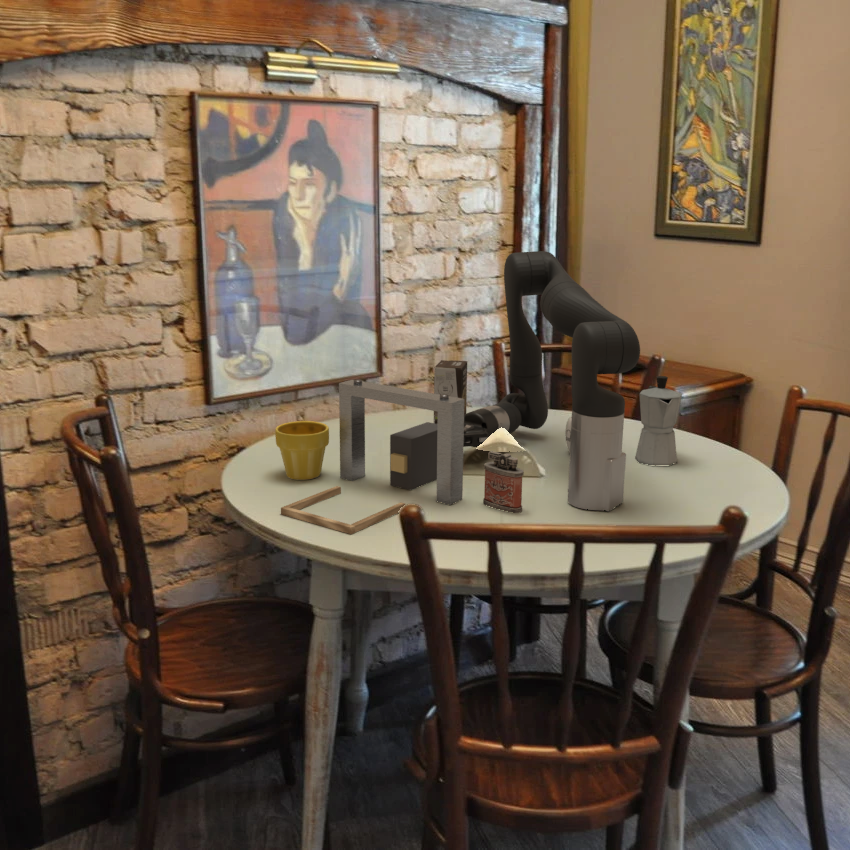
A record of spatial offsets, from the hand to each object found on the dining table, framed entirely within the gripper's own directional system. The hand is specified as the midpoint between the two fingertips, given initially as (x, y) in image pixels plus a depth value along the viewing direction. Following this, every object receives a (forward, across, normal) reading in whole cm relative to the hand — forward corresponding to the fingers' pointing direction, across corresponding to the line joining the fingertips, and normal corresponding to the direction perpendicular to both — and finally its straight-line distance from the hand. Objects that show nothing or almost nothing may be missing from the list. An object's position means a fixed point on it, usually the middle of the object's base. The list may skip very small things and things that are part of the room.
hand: (437, 443), depth 194 cm
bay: (+28, 0, +6) cm, 29 cm away
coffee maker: (-36, +31, +6) cm, 48 cm away
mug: (-29, +19, +6) cm, 35 cm away
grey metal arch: (+12, 0, +6) cm, 14 cm away
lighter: (+9, +21, +6) cm, 24 cm away
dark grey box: (+6, 0, +6) cm, 8 cm away
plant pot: (+18, -20, +6) cm, 27 cm away
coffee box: (-26, -15, +6) cm, 31 cm away
